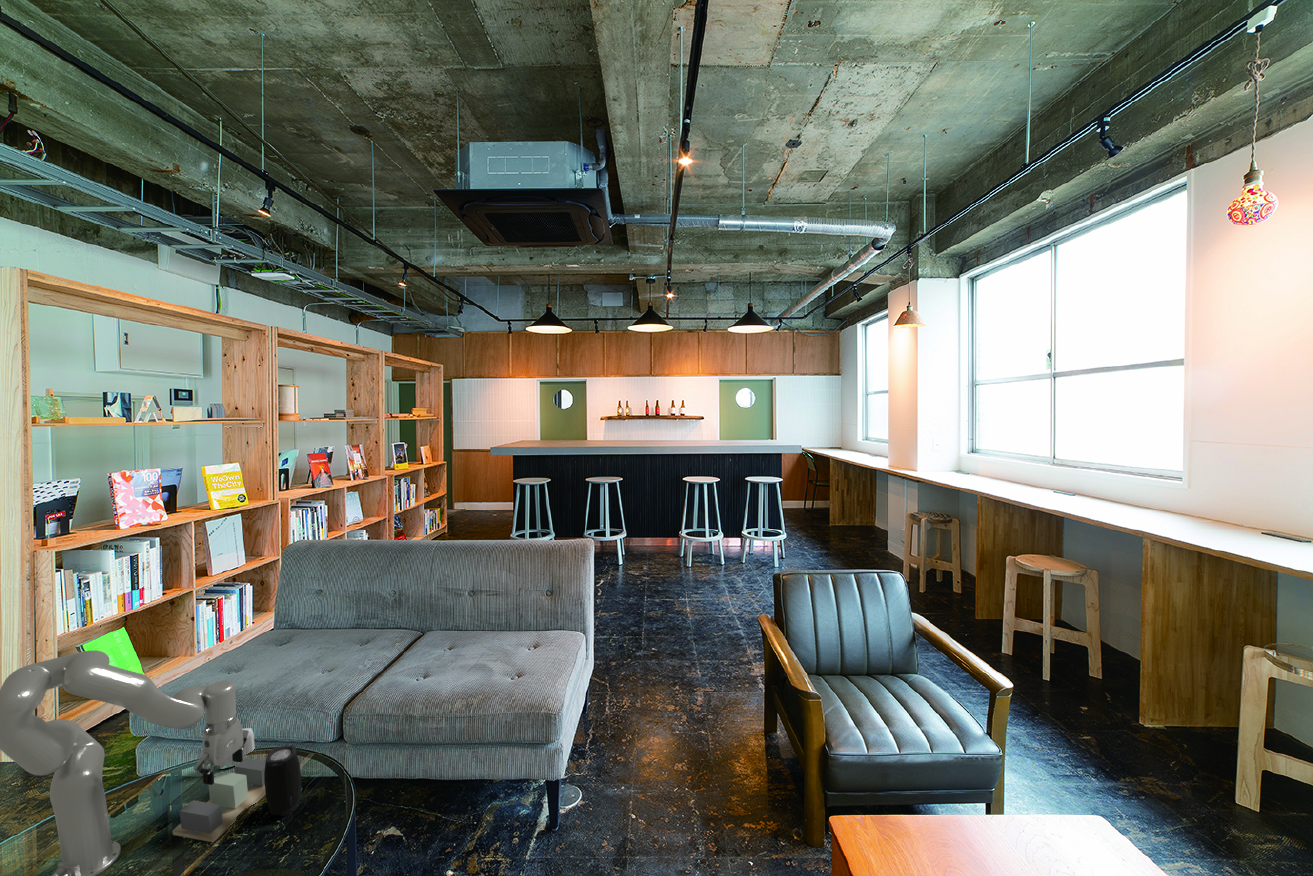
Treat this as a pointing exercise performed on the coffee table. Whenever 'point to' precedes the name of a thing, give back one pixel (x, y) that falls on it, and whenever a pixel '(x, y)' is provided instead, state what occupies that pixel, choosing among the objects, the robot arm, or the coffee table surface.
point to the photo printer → (247, 749)
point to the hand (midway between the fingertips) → (223, 772)
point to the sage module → (228, 789)
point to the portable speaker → (282, 780)
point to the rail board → (215, 819)
